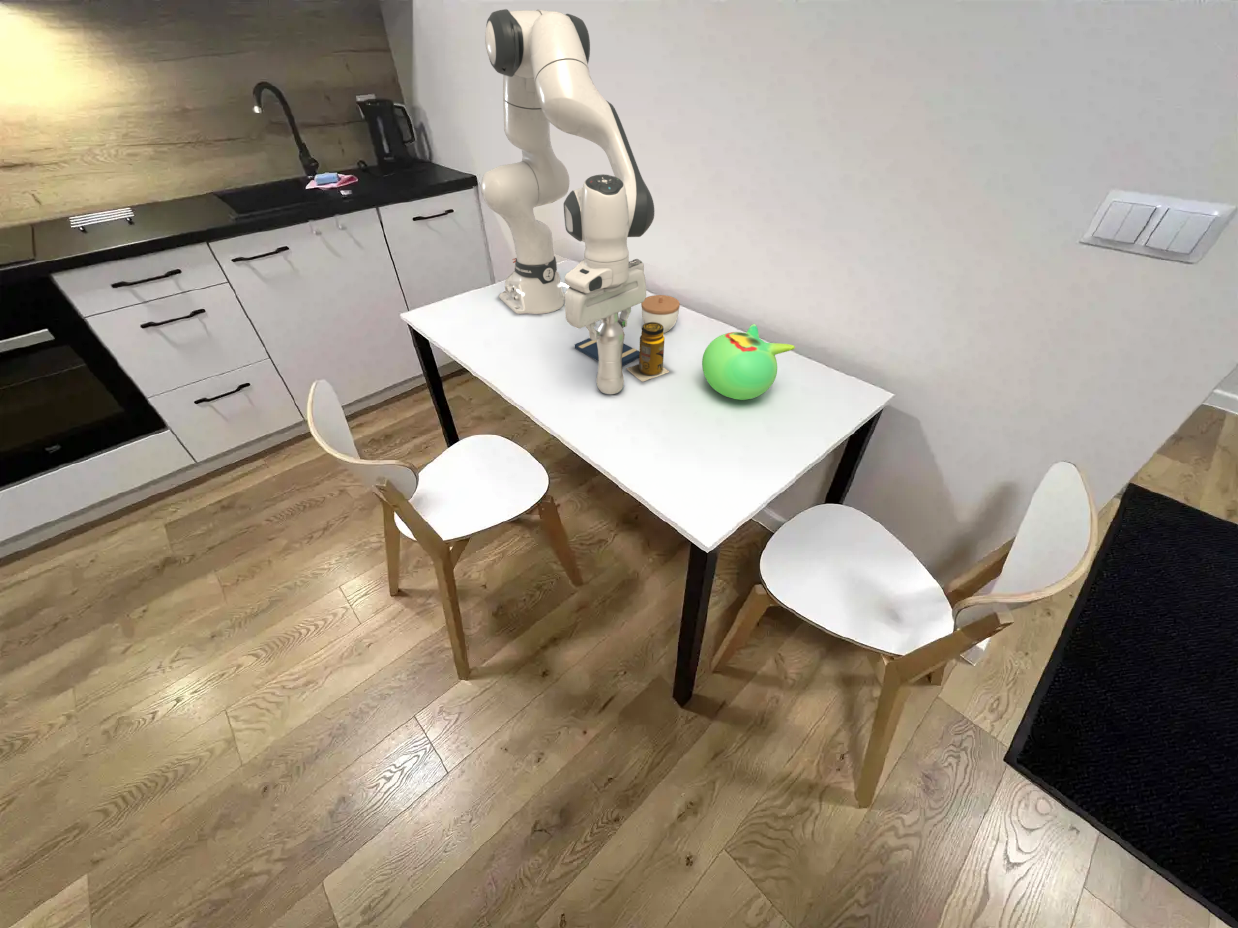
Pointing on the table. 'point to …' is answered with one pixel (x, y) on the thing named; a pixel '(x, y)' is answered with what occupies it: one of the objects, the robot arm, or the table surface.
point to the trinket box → (660, 310)
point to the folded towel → (591, 350)
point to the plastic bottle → (610, 355)
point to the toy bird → (741, 364)
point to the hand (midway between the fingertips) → (608, 332)
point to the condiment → (650, 353)
